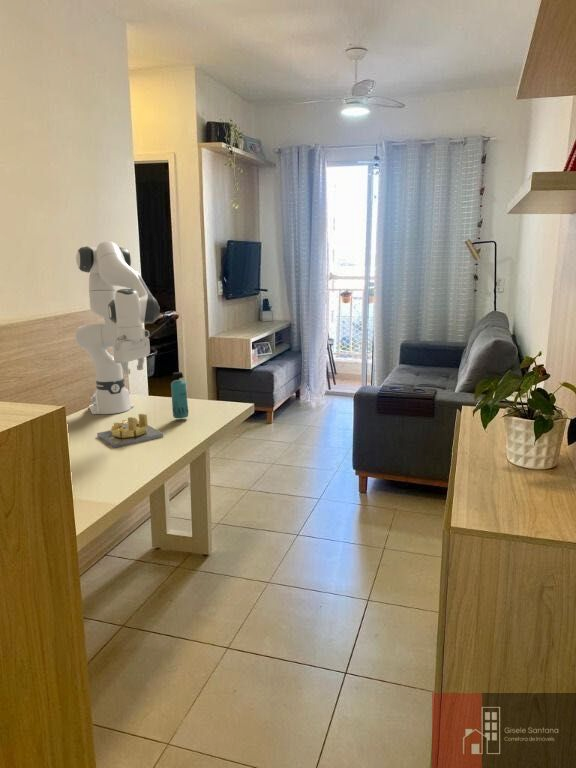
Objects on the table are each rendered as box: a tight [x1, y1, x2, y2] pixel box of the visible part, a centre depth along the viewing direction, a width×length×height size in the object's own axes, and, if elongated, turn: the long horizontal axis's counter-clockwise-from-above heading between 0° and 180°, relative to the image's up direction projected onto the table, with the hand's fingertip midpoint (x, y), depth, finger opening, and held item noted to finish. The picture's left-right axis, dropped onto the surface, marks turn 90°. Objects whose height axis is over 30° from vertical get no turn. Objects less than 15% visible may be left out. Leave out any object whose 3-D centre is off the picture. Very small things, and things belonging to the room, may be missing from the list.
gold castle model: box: [96, 423, 164, 449], centre depth 213 cm, size 18×19×5 cm
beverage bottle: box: [170, 371, 190, 419], centre depth 232 cm, size 6×7×20 cm
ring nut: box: [110, 413, 149, 438], centre depth 212 cm, size 13×12×7 cm
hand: (133, 372), depth 207 cm, fingers open, 8 cm apart
